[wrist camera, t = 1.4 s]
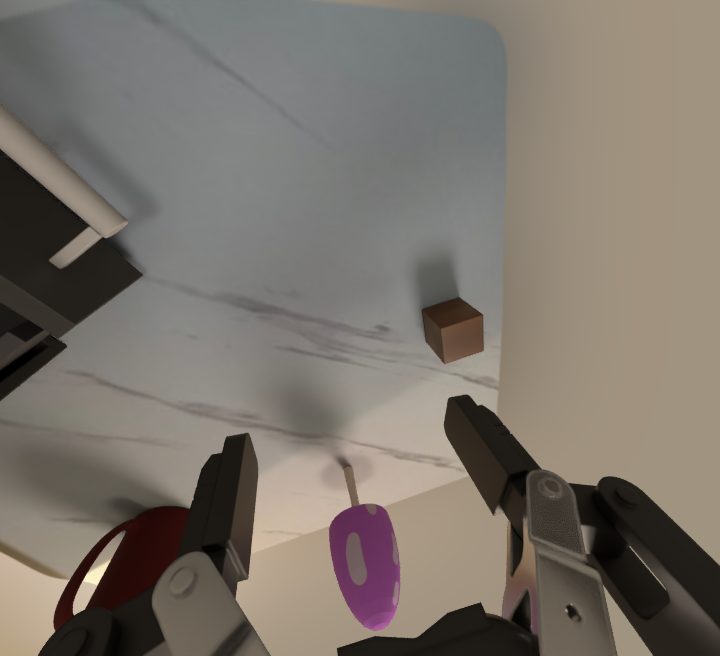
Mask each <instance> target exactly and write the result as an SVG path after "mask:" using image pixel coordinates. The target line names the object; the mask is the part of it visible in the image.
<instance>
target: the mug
mask: <svg viewBox="0 0 720 656" xmlns="http://www.w3.org/2000/svg"><path fill="white" fill-rule="evenodd" d="M188 515H189V510H186V509H183V508H176V507H164V508H157V509H152V510H149V511H146V512H144V513H142V514H140V515H139V516H137V517H136V518H135V519H132V520H129V521H127V522H124V523H122V524H120V525H119V526H117V527H116V528H114V529H113V530H111V531H110V532H109V533H107V534H106V535H105V536H104V537H103V538H102V539H101V540H100V541H99V542H98V543H97V544H96V545H95V546H94V547H93V548H92V549H91V551H90V552H89V553H88V554H87V556H86V557H85V558H84V559H83V561H82V562H81V564H80V565H79V566H78V568H77V570H76V571H75V573H74V574H73V576H72V577H71V579H70V581H69V582H68V584H67V586H66V588H65V590H64V591H63V593H62V595H61V598H60V600H59V602H58V604H57V607H56V610H55V615H54V621H53V623H54V629H55V631H56V630H57V629H58V628H60V627H61V626H62V625H63V624H64V623H65V622H66V621H67V620H69V619H70V618H71V617H73V616H74V614H73V601H74V599H75V596H76V593H77V591H78V589H79V587H80V585H81V583H82V581H83V579H84V578H85V576H86V574H87V572H88V571H89V569H90V568H91V566H92V564H93V563H94V561H95V560H96V558H97V557H98V555H99V554H100V553H101V552H102V550H103V549H104V548H105V547H106V545H107V544H108V543H109V542H110V541H111V540H112V539H113V538H114V537H115V536H116V535H117V534H119V533H120V532H121V531H123V530H126V533H125V535H124V537H123V539H122V541H121V543H120V545H119V546H118V548H117V550H116V552H115V554H114V556H113V558H112V559H111V561H110V563H109V565H108V567H107V569H106V571H105V573H104V574H103V576H102V578H101V580H100V582H99V584H98V586H97V588H96V590H95V592H94V593H93V595H92V597H91V599H90V601H89V603H88V605H87V607H86V609H88V608H91V607H103V608H105V609H107V610H108V611H111V610H112V609H114V608H116V607H118V606H119V605H121V604H123V603H124V602H126V601H128V600H130V599H131V598H133V597H135V596H136V595H138V594H140V593H142V592H143V591H145V590H146V589H148V588H149V587H151V586H152V585H153V584H155V583H156V582H157V581H158V580H159V578H160V577H161V575H162V574H163V572H164V571H165V570H166V569H167V568H168V566H169V565H171V564H172V563H173V561H174V559H175V557H176V555H177V552H178V549H179V546H180V543H181V539H182V536H183V532H184V529H185V525H186V522H187V518H188Z"/></svg>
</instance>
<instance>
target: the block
mask: <svg viewBox="0 0 720 656" xmlns="http://www.w3.org/2000/svg"><path fill="white" fill-rule="evenodd" d="M422 313H423V320H424V327H425V334H426V342H427V343H428V345H429V346H430V347H431V348H432V350H433V351H434V352H435V353H436V354H437V356H438V357H439V358H440V359H441V361H442V362H443V363H444V364H446V363H449V362H452V361H455V360H458V359H461V358H464V357H467V356H470V355H473V354H476V353H479V352H482V351H484V340H483V314H481V313H480V312H479V311H477V310H476V309H475V308H473V307H472V306H471V305H469V304H468V303H466V302H465V301H464V300H462V299H461V298H457V299H454V300H450V301H447V302H444V303H441V304H438V305H435V306H432V307H429V308H426V309H423V310H422Z"/></svg>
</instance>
